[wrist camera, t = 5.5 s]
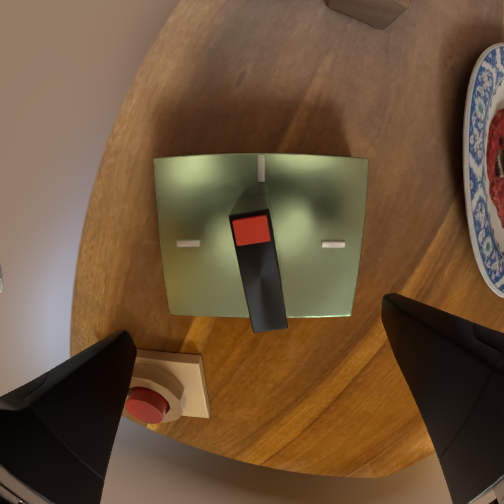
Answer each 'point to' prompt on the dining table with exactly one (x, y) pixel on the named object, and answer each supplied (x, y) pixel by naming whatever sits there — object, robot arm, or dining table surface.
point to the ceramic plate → (486, 165)
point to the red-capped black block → (258, 262)
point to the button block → (173, 382)
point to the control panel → (284, 226)
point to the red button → (146, 405)
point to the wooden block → (371, 10)
